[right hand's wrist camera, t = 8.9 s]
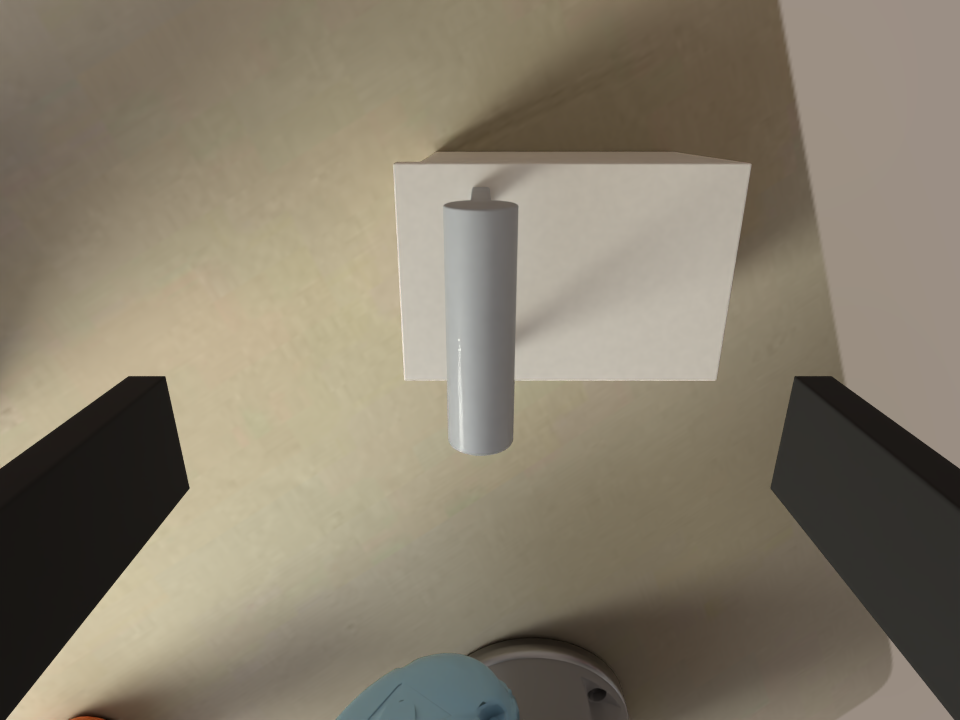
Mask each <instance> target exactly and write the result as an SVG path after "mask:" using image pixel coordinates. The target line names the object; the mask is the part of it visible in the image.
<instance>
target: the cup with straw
mask: <svg viewBox="0 0 960 720" xmlns="http://www.w3.org/2000/svg"><path fill="white" fill-rule="evenodd" d="M69 720H105V719H102V718H97V717H89V716H83V717H76V718H72V719H69Z"/></svg>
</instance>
